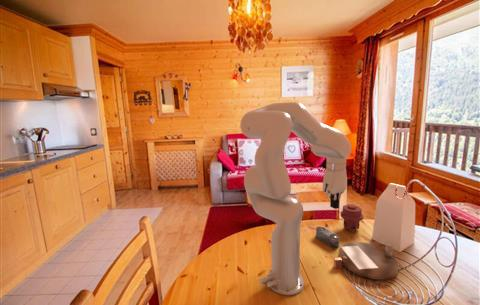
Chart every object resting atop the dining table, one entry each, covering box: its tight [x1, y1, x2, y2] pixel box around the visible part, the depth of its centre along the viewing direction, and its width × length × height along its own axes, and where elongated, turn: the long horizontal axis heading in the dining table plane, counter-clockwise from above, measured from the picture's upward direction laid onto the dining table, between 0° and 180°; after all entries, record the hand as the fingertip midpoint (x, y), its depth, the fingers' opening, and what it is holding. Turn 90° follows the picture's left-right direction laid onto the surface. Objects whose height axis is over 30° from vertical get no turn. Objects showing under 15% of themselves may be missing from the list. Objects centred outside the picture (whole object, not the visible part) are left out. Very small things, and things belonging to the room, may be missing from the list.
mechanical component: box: [340, 203, 364, 234], centre depth 118 cm, size 12×10×10 cm
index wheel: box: [338, 241, 399, 280], centre depth 92 cm, size 20×20×6 cm
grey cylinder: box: [315, 226, 340, 249], centre depth 109 cm, size 4×12×4 cm, turn 26°
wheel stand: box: [333, 256, 343, 270], centre depth 92 cm, size 15×8×4 cm, turn 116°
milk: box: [371, 182, 416, 253], centre depth 106 cm, size 12×12×26 cm
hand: (334, 207), depth 105 cm, fingers closed
